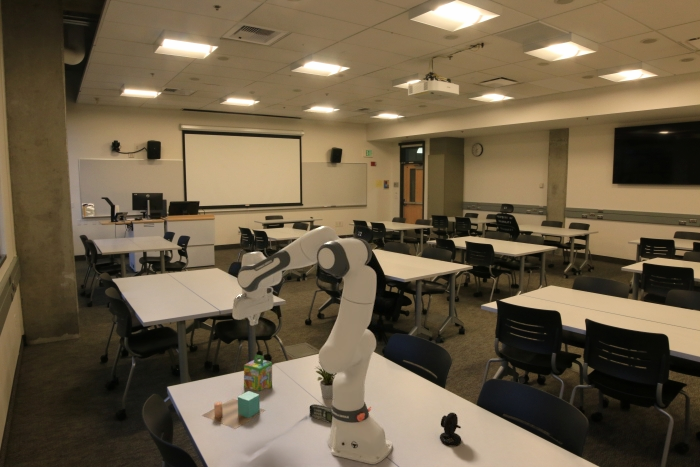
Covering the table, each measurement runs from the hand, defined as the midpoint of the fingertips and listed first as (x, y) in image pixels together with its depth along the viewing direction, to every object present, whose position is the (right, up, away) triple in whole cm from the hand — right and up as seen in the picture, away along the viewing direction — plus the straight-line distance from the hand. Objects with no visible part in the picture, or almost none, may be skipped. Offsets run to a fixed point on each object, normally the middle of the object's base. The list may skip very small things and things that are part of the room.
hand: (253, 324), depth 182 cm
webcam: (+75, -36, -24) cm, 86 cm away
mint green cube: (0, -33, -8) cm, 34 cm away
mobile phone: (+30, -35, -10) cm, 47 cm away
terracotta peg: (-11, -33, -11) cm, 36 cm away
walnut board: (-6, -34, -8) cm, 36 cm away
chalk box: (-1, -32, +16) cm, 36 cm away
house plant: (+30, -33, +8) cm, 45 cm away
